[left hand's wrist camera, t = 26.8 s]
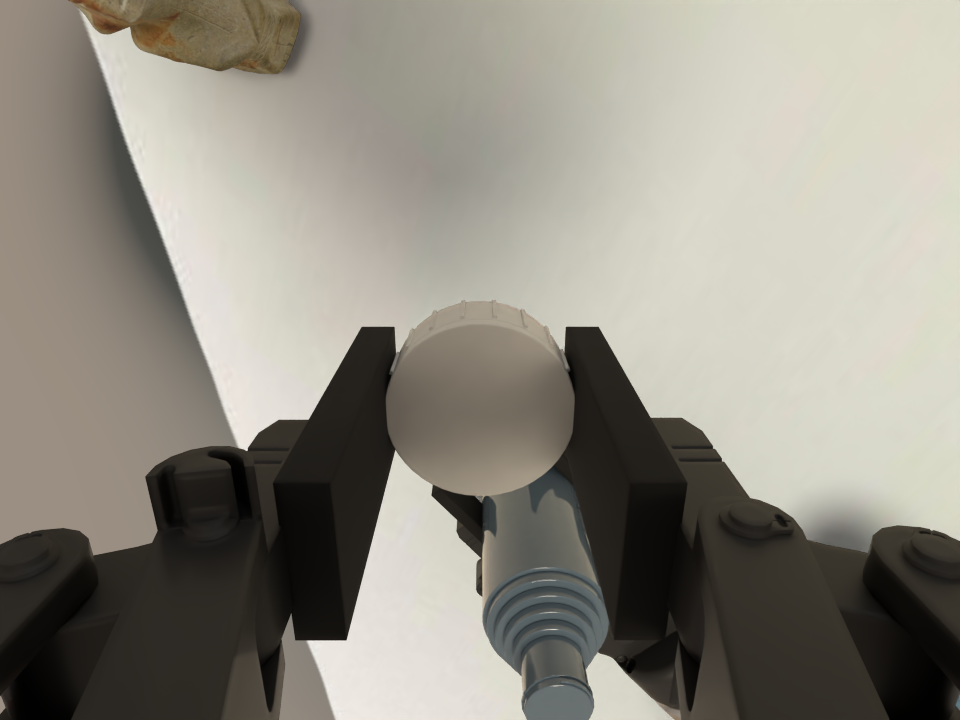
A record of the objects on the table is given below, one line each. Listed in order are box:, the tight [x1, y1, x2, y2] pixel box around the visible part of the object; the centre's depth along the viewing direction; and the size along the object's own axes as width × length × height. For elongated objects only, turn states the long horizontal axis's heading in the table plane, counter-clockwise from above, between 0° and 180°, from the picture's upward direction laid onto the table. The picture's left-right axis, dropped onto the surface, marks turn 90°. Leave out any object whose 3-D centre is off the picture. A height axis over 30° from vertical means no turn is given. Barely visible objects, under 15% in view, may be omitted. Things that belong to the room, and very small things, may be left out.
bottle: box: [482, 465, 609, 720], centre depth 35 cm, size 6×6×21 cm
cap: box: [386, 300, 575, 496], centre depth 14 cm, size 4×4×2 cm
